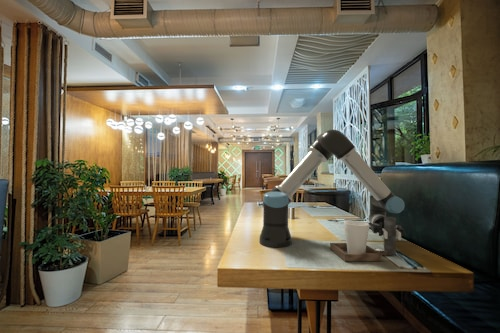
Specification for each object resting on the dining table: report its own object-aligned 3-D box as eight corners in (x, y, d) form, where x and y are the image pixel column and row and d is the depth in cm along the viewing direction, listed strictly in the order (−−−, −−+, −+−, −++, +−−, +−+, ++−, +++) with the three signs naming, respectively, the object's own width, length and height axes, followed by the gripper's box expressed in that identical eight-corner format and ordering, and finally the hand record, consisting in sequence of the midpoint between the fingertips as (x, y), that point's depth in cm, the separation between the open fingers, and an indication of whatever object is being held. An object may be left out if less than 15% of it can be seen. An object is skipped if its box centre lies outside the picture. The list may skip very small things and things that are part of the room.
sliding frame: (345, 261, 91) (345, 221, 92) (330, 248, 106) (330, 214, 106) (405, 260, 93) (405, 220, 93) (382, 248, 107) (382, 214, 107)
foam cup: (349, 249, 106) (349, 219, 106) (372, 255, 99) (372, 223, 99) (339, 255, 99) (339, 222, 99) (363, 261, 92) (363, 226, 93)
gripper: (401, 233, 114) (418, 248, 92) (362, 230, 120) (369, 243, 97) (401, 217, 114) (418, 228, 92) (362, 214, 120) (369, 224, 98)
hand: (393, 236), depth 95 cm, fingers closed on sliding frame, 4 cm apart
